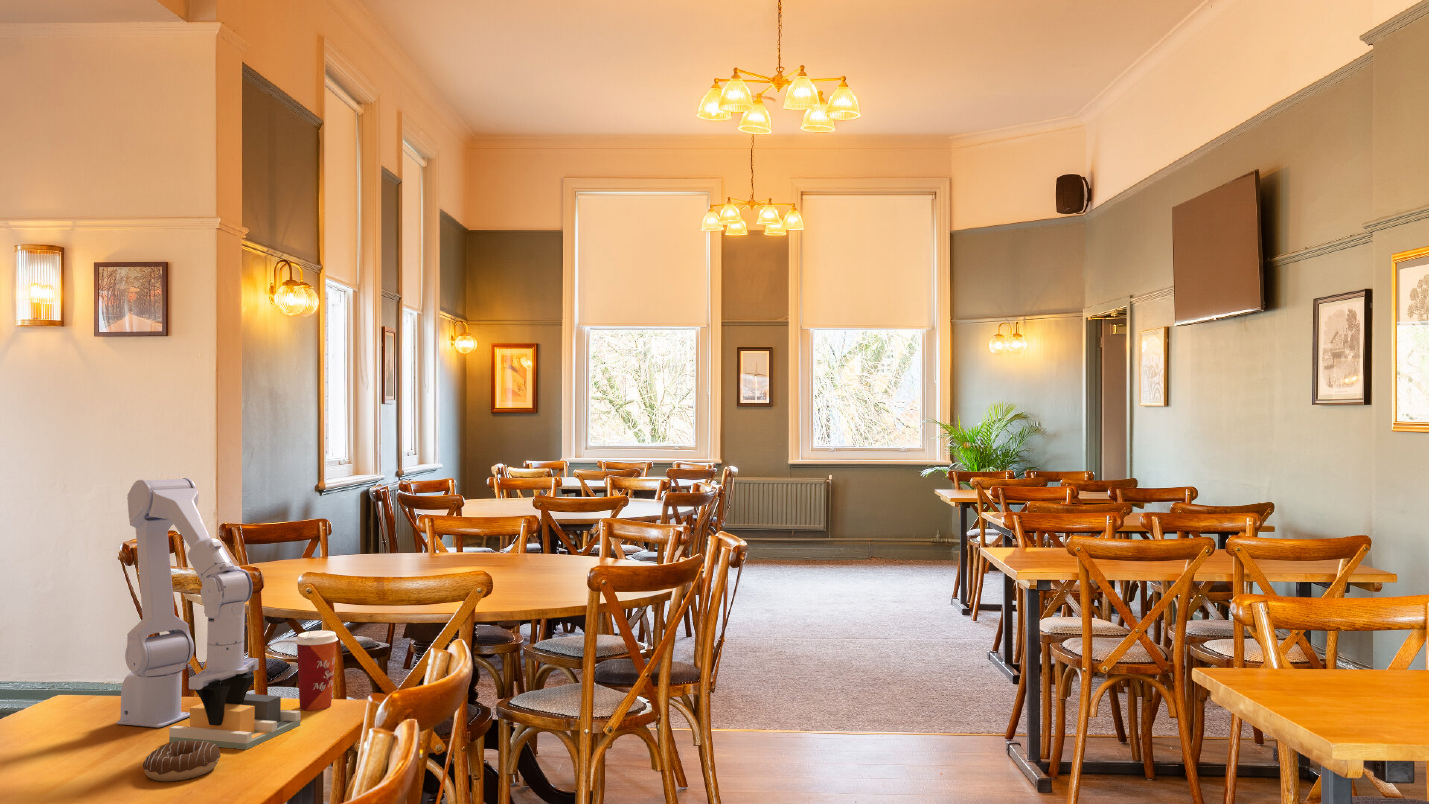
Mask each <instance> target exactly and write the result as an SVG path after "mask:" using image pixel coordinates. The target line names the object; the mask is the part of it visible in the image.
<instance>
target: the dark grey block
mask: <svg viewBox="0 0 1429 804" xmlns="http://www.w3.org/2000/svg"><path fill="white" fill-rule="evenodd" d="M281 699H282V698H281V696H280V695H267V694H254V693H246V696H245V698H244V701H243V705H249V706H255V720H266V721H277V723H278V722H280V710H281V706H282V705H281V701H282V700H281Z"/></svg>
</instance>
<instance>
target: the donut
mask: <svg viewBox="0 0 1429 804" xmlns="http://www.w3.org/2000/svg"><path fill="white" fill-rule="evenodd" d="M221 756H222V755H221V751H220V747H217V745H216V744H213V743H211V742H205V741H178V742H173V743H166V744H164V745H162V746H160V747H158V748H156V749H155V750H153V751H151V752H150V754H148V755H147V756H146V758H145V759H144V761H143V762H142V769H143V771H144V772H143V773H144V774H145V775H146V776H147V777H148V778H150V779H151V780H153V781H157V782H179V781H178V780H180V781H185V780H189V779H190V778H191V779H194V778H197V777H200V776H203V775H205V774H207V773H209V772H211V771H212V770H213V769H214V768H215V767H216V766H217V765H218V764H219V761H220V758H221Z"/></svg>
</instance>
